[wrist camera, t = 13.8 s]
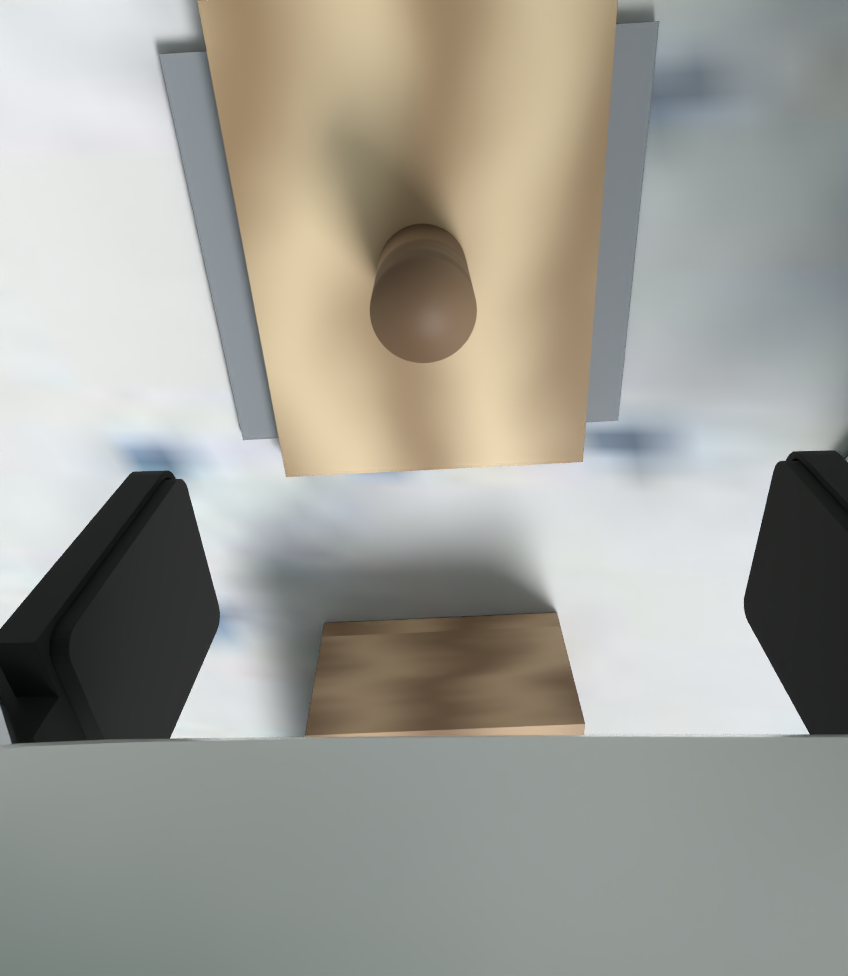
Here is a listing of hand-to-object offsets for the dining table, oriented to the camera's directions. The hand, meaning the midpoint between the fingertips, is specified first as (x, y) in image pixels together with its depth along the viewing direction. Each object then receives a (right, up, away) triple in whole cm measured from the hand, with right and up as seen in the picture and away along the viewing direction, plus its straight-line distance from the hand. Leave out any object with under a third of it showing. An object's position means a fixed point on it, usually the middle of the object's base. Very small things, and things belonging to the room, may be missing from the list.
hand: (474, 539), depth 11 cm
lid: (-1, +9, +14) cm, 17 cm away
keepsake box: (0, -13, +28) cm, 31 cm away
